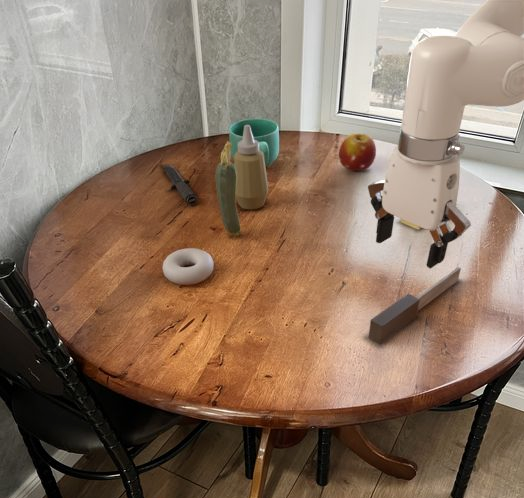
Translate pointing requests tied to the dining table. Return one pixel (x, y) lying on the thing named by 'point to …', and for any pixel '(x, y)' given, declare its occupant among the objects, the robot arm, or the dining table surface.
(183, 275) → the donut
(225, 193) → the vegetable
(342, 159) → the fruit
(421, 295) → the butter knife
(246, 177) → the squeeze bottle
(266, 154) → the mug
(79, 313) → the dining table surface
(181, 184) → the knife
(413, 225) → the butter slice
